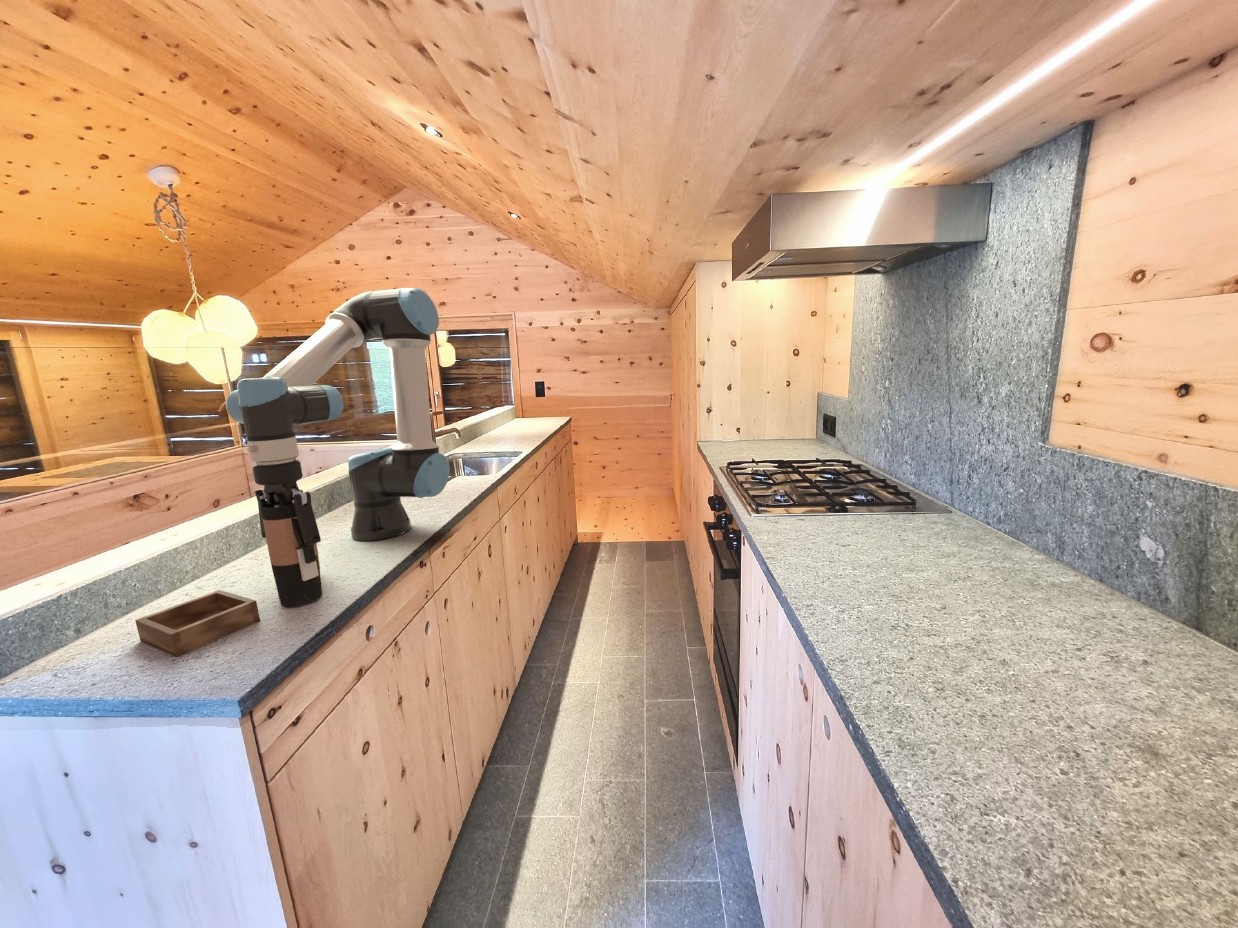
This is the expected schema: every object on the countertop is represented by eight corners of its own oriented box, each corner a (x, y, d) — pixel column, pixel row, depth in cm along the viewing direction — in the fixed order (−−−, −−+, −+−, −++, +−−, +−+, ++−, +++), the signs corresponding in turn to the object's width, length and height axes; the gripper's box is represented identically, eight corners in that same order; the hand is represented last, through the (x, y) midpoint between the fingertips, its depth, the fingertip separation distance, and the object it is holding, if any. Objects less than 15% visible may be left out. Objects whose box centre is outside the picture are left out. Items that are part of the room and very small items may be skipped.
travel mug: (276, 599, 99) (257, 502, 95) (320, 587, 104) (303, 494, 100) (281, 612, 94) (261, 510, 90) (327, 598, 98) (310, 501, 94)
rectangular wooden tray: (223, 609, 97) (219, 589, 96) (260, 620, 91) (256, 600, 90) (140, 641, 86) (135, 620, 85) (176, 657, 80) (171, 634, 79)
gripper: (223, 462, 95) (247, 574, 99) (288, 467, 86) (311, 591, 90) (265, 455, 101) (286, 560, 106) (329, 459, 92) (349, 574, 97)
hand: (297, 574), depth 98 cm, fingers closed on travel mug, 8 cm apart
